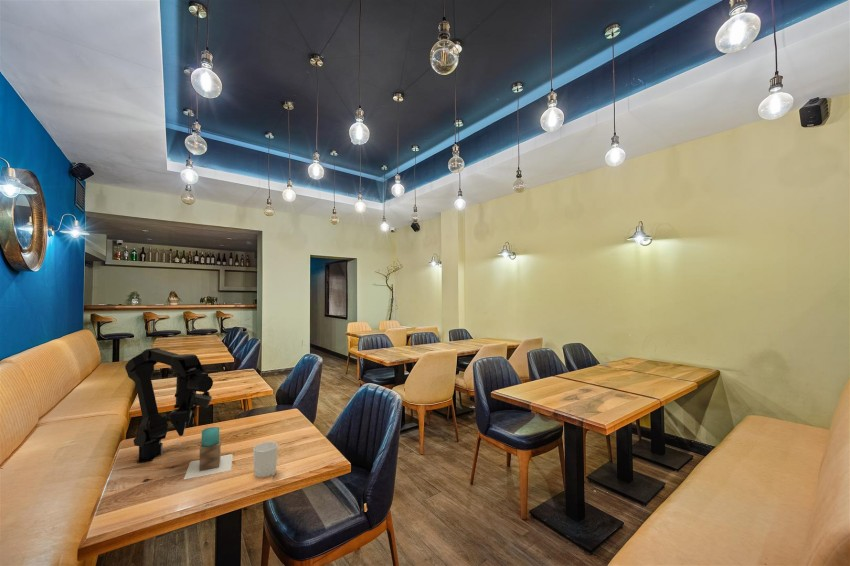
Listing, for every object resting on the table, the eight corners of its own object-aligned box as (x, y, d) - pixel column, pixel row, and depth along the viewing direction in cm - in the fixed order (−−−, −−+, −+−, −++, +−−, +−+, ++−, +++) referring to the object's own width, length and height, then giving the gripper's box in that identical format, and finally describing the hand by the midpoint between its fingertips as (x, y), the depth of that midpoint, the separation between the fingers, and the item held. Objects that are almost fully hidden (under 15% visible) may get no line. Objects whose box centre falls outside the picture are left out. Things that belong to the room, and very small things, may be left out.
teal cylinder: (200, 448, 123) (200, 434, 123) (202, 442, 128) (202, 428, 128) (218, 445, 126) (218, 431, 126) (219, 439, 131) (219, 426, 131)
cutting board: (183, 482, 117) (183, 479, 117) (190, 464, 130) (190, 461, 130) (230, 472, 124) (230, 470, 124) (232, 456, 136) (233, 453, 136)
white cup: (270, 467, 128) (271, 439, 128) (281, 474, 123) (281, 445, 123) (248, 475, 122) (249, 447, 122) (259, 483, 117) (259, 453, 117)
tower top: (199, 459, 123) (199, 448, 123) (201, 452, 128) (202, 442, 128) (219, 456, 126) (219, 445, 126) (220, 449, 131) (220, 438, 131)
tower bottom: (199, 471, 123) (199, 459, 123) (201, 463, 128) (201, 452, 128) (218, 467, 125) (219, 456, 126) (220, 460, 131) (220, 449, 131)
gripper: (206, 393, 125) (205, 437, 125) (213, 381, 142) (212, 419, 142) (169, 397, 120) (167, 442, 120) (181, 383, 137) (179, 423, 137)
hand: (183, 430), depth 130 cm, fingers open, 9 cm apart
